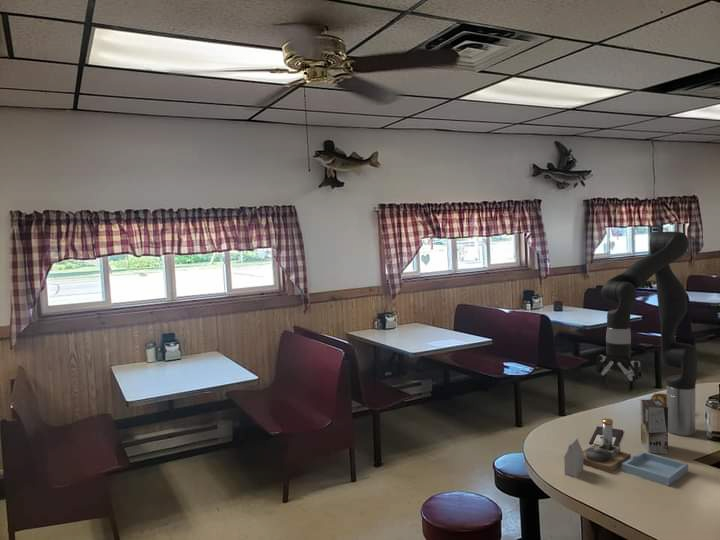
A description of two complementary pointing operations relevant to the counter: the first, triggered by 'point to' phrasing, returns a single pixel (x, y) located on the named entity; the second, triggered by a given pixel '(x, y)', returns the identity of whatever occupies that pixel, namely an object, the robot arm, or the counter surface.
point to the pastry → (660, 397)
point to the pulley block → (604, 458)
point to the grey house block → (574, 459)
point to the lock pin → (607, 434)
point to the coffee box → (654, 426)
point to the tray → (655, 468)
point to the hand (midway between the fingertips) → (618, 388)
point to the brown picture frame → (598, 436)
